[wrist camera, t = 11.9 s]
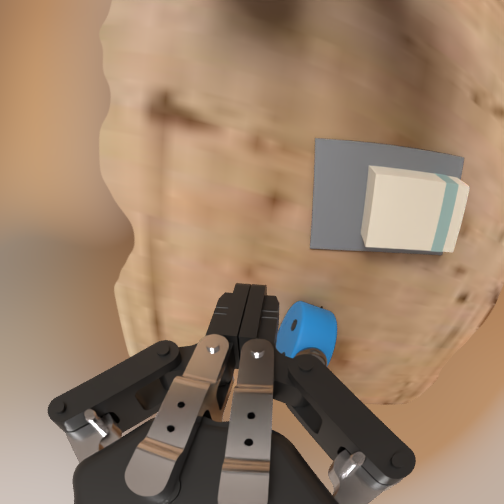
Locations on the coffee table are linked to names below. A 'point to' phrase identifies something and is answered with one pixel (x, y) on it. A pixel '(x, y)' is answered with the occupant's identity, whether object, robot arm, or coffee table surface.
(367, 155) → the mat
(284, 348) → the alarm clock
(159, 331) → the coffee table surface
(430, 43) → the coffee table surface
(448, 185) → the box
